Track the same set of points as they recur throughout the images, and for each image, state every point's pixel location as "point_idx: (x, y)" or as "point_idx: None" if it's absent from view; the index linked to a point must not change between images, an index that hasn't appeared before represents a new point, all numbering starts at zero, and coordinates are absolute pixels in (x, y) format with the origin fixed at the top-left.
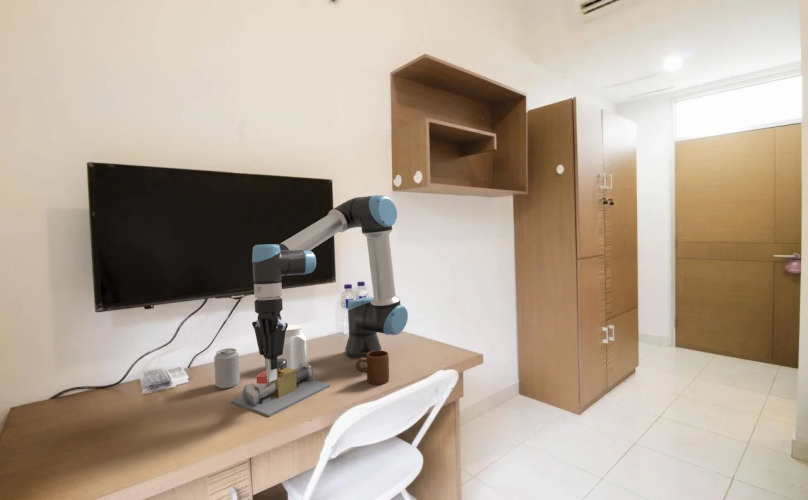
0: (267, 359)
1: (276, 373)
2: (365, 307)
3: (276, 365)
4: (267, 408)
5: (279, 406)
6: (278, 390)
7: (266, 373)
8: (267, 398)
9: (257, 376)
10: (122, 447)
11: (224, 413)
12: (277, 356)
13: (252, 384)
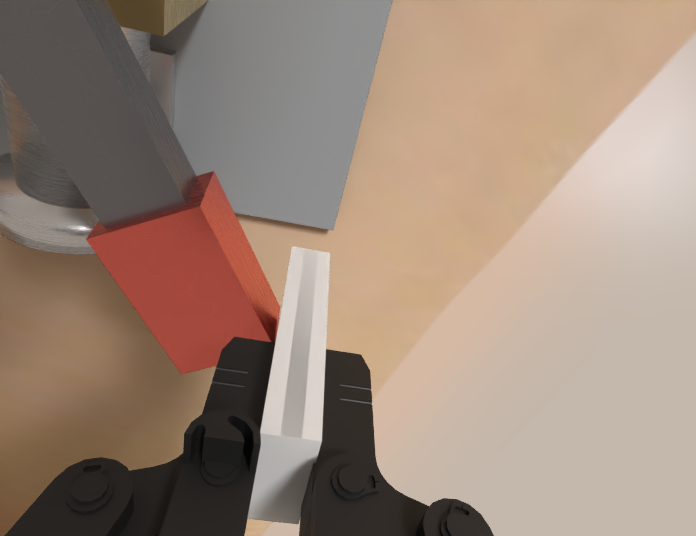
0: (278, 514)
1: (327, 292)
2: None
3: (367, 396)
4: (263, 173)
5: (320, 125)
6: (194, 10)
7: (202, 297)
8: (161, 81)
9: (186, 368)
10: (8, 506)
11: (57, 267)
12: (404, 508)
13: (64, 230)
